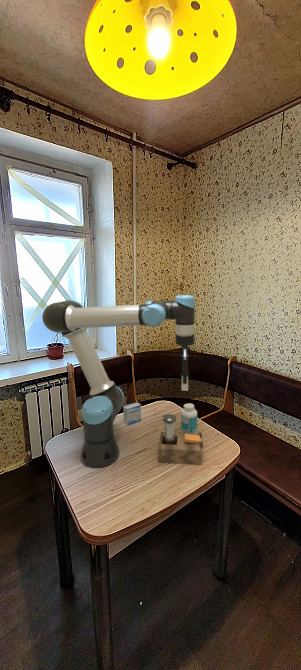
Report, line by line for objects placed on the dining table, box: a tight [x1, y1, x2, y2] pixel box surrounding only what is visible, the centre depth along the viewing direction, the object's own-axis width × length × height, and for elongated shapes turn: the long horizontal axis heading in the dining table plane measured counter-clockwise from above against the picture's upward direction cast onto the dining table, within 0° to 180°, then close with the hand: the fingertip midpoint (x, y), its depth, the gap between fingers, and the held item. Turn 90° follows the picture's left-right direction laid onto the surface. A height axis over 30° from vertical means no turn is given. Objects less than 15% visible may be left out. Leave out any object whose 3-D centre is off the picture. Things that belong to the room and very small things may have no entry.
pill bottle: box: [180, 402, 198, 433], centre depth 124 cm, size 8×7×14 cm
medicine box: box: [122, 402, 142, 426], centre depth 135 cm, size 8×4×9 cm, turn 123°
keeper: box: [185, 433, 201, 444], centre depth 108 cm, size 6×4×1 cm, turn 83°
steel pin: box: [162, 413, 177, 445], centre depth 109 cm, size 5×5×16 cm
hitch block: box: [158, 430, 204, 466], centre depth 109 cm, size 17×12×8 cm
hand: (184, 389), depth 113 cm, fingers closed
